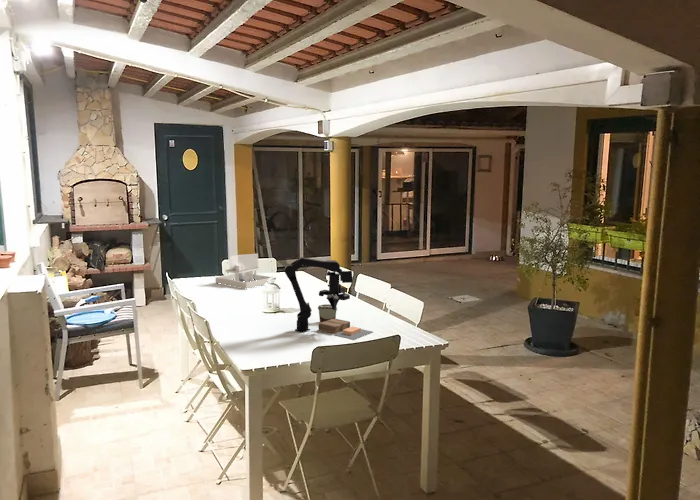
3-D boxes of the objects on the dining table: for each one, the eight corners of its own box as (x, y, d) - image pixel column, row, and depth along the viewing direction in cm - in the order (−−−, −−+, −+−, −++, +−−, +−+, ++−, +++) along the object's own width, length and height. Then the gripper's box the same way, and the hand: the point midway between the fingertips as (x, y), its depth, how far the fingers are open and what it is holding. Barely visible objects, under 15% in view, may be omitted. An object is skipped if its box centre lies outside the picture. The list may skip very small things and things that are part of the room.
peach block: (342, 330, 312) (342, 333, 312) (351, 331, 309) (351, 335, 309) (352, 326, 319) (352, 329, 320) (360, 328, 316) (360, 331, 316)
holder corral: (246, 289, 427) (246, 283, 426) (215, 283, 448) (215, 277, 447) (273, 283, 449) (273, 277, 449) (242, 278, 471) (242, 272, 470)
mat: (354, 339, 302) (354, 339, 302) (334, 335, 310) (334, 334, 310) (373, 332, 316) (373, 331, 316) (353, 327, 324) (353, 327, 324)
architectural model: (241, 288, 432) (240, 258, 428) (222, 285, 444) (221, 256, 440) (266, 282, 454) (265, 254, 451) (247, 279, 466) (247, 252, 463)
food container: (340, 321, 339) (340, 305, 338) (336, 323, 333) (336, 307, 332) (321, 319, 343) (321, 303, 341) (317, 322, 337) (317, 305, 335)
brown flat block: (335, 334, 312) (335, 327, 312) (318, 330, 320) (318, 323, 319) (350, 328, 323) (350, 321, 323) (333, 324, 331) (333, 318, 330)
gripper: (355, 282, 318) (355, 309, 320) (330, 278, 329) (330, 304, 331) (343, 285, 309) (343, 313, 311) (318, 281, 321) (318, 308, 323)
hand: (334, 309), depth 320 cm, fingers closed
